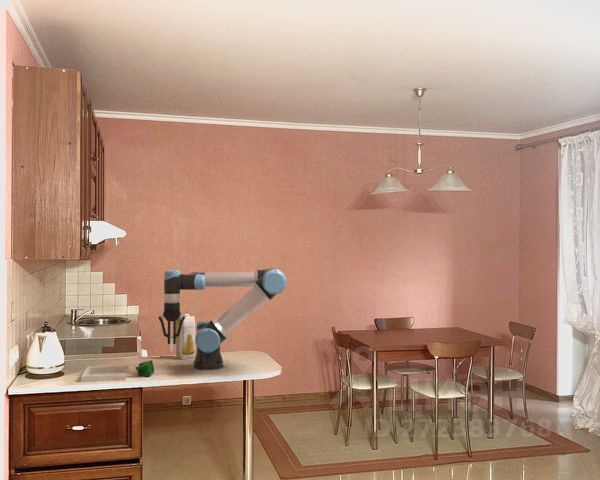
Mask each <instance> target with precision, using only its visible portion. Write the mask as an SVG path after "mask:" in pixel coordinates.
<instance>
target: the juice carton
mask: <svg viewBox="0 0 600 480" xmlns="http://www.w3.org/2000/svg"><path fill="white" fill-rule="evenodd" d="M184 316H185V319H184V321H183V324H182V327H181V331H180V335H179V336H177V337H176V344H175V356H176V358H177V359H179V360H190V359H195V356H196V343H195V337H196V317H195V315H192V314H191V315H190V314H188V313H185V314H184ZM180 320H181V319H180V317H179V318H178V319H177V321H176V334H177V332H178V328H179V324H180Z"/></svg>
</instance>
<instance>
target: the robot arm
mask: <svg viewBox="0 0 600 480" xmlns="http://www.w3.org/2000/svg"><path fill="white" fill-rule="evenodd" d="M163 276H164V277H163V278H164V279H163V291H164V292H163V301H164V303H163V313H162V314H161V315H160V316H158V320H159V322H160V325H161V329H162V335H163V336H164V337H165V338H167V345H169V352H174V345H176V337H177V336H179V335H180V331H181V327H182V324H183V321H184V319H185V315H183V314H182V313H181V303H180V302H181V291H184V290H185V291H200V290H202V291H203V290H205V289H206V288H251V287H252V288H251V289H250V290H249V291H248V292H246V294H245V295H243V296H242V297H241V298H240V299H238V300H237V302H235V303H234V304H233V305H231V307H229V308H228V309H227V310H226V311H224V313H223V314H221V316H219V317H218V318H217V319H211V320H210V321H198V322H196V323H197V324H196V333H195V346H196V352H195V357H194V358H193V359H194V360H193V368H194V369H197V370H218V369H221V368H223V367H224V360H223V357H222V354H221V344H222V343H224V341H225V340H226V339H228V337H229V333H231V331H232V330H234V329H235V328H236V327H237V326H238V325H239V324H241V322H242V321H243V320H245V319H246V318H247V317H248V316H249V315H250V314H252V313H253V312H254V311H255V310H256V309H257V308H258V307H260V306H261V305H262V304H263V303H264V302H265V301H271V300H272V299H273V298H275V297H276V296H277V295H279V294H281V293H283V292H284V291H285V289H286V286H287V277H286V275H285V273H284V272H283V271H281V270H280V269H277V268H274V267H273V268H272V267H271V268H267V269H266V268H265V269H255V271H238V272H237V271H233V272H232V271H228V272H227V271H226V272H222V271H221V272H220V271H219V272H214V271H213V272H211V271H210V272H207V271H205V272H197V271H192V272H190V273H188V274H187V273H184V274H183V273H181V270H179V269H167V270H165V271H164V275H163ZM179 317H180V319H181V320H180V324H179V328H178V332H177V334H176V321H177V319H178V318H179ZM164 319H165V320H166V321H167V331H166V327H165V323H164ZM171 322H173V327H172V329H173V330H172V334H173V335H172V336H171Z"/></svg>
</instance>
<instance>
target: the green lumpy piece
mask: <svg viewBox="0 0 600 480" xmlns="http://www.w3.org/2000/svg"><path fill="white" fill-rule="evenodd" d="M135 371H136V372H137V375H138V377H141V376H145V377H146V378H148V377H151V376H152V375H153V374H154V372H155V367H154V362H153V360H152V359H151V360H147V361H143V362H139V364H138V366H135Z"/></svg>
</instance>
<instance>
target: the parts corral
mask: <svg viewBox="0 0 600 480" xmlns="http://www.w3.org/2000/svg"><path fill="white" fill-rule="evenodd" d="M129 370H130V365H129V364H121V365H97V366H96V365H94V366H87V367H86V369H84V371H83V373H82V375H81V377H80V378H81V379H80V381H81V383H87V382H106V381H107V382H109V381H110V382H111V381H112V380H114V381H126V380H127V373H118V374H117V373H115V374H113V373H112V374H91V373H102V372H103V373H104V372H105V373H107V372H126V371H127V372H129Z"/></svg>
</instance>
